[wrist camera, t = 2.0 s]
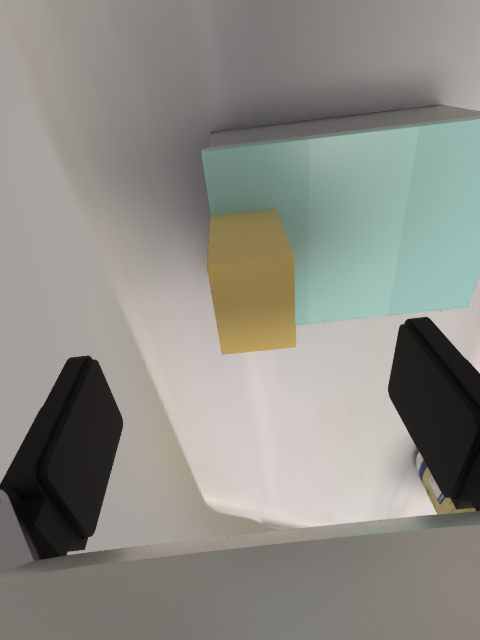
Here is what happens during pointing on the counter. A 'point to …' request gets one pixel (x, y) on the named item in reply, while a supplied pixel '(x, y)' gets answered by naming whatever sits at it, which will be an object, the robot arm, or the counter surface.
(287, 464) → the counter surface
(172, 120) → the counter surface
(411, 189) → the lid
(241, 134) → the tub
